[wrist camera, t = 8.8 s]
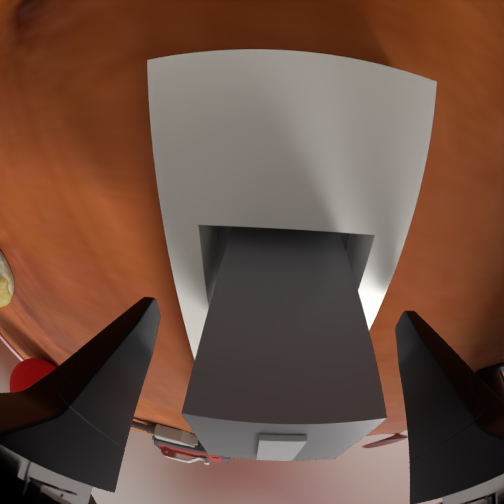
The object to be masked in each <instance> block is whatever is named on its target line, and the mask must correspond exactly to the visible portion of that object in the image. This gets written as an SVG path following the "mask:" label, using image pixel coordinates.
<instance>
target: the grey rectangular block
mask: <svg viewBox="0 0 504 504" xmlns="http://www.w3.org/2000/svg"><path fill="white" fill-rule="evenodd" d="M182 415H183V416H184V418H185V420H186V421H187V423H188V424H189V426H190V428H191V429H192V431H193V432H194V434H195V435H196V437H197V438H198V440H199V441H200V443H201V444H202V446H203V447H204V449H205V450H206V452H207V453H208V454H210V455H216V456H224V457H233V458H242V459H255V460H256V459H257V460H276V461H305V460H326V459H335V458H337V457H338V456H340V455H341V454H342V453H344V452H345V451H347V450H348V449H349V448H350V447H352V446H353V445H354V444H356V443H357V442H359V441H360V440H361V439H362V438H363V437H365V436H366V435H367V434H369V433H370V432H371V431H372V430H373V429H375V428H376V427H377V426H378V425H379V424H381V423H382V422H383V421H384V420H385V419H386V418H387V415H386V409H385V403H384V397H383V392H382V387H381V382H380V377H379V372H378V367H377V362H376V358H375V354H374V349H373V345H372V341H371V337H370V333H369V329H368V325H367V321H366V317H365V314H364V310H363V306H362V303H361V299H360V296H359V292H358V289H357V286H356V282H355V279H354V276H353V273H352V270H351V266H350V263H349V260H348V257H347V254H346V251H345V248H344V245H343V242H342V239H341V237H340V234H339V232H327V231H312V230H296V229H279V228H260V227H239V226H232V229H231V232H230V235H229V239H228V242H227V245H226V249H225V252H224V256H223V259H222V263H221V266H220V270H219V273H218V277H217V280H216V284H215V287H214V291H213V294H212V298H211V302H210V305H209V309H208V313H207V316H206V320H205V324H204V327H203V331H202V335H201V339H200V342H199V346H198V350H197V354H196V358H195V362H194V366H193V369H192V373H191V377H190V381H189V385H188V389H187V393H186V397H185V401H184V406H183V410H182Z"/></svg>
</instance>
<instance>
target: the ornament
mask: <svg viewBox="0 0 504 504" xmlns="http://www.w3.org/2000/svg"><path fill="white" fill-rule="evenodd" d="M55 368H56V367H55V366H54V365H53V364H51V363H49V362H47V361H45V360H42V359H38V358H31V359H26V360H24V361H22V362H20V363H19V364H18V365H17V366H16V367H15V368H14V370H13V372H12V374H11V378H10V392H19V391H22V390H25V389H27V388H28V387H30V386H31V385H33V384H34V383H36V382H37V381H39V380H40V379H41V378H43V377H44V376H46V375H47V374H49V373H50V372H51V371H53V370H54V369H55Z"/></svg>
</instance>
